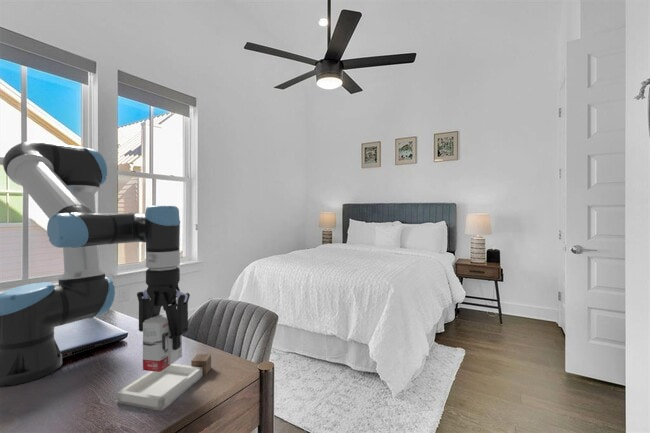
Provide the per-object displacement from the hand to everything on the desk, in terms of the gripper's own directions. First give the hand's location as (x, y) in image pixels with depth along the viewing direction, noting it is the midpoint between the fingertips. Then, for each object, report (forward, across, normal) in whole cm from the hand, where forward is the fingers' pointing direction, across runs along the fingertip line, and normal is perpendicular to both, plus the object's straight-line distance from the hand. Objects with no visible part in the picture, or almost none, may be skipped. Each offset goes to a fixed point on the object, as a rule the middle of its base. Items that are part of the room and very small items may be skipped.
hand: (163, 360), depth 79 cm
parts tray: (+7, 0, 0) cm, 7 cm away
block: (+7, +4, +10) cm, 13 cm away
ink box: (+1, 0, 0) cm, 1 cm away
